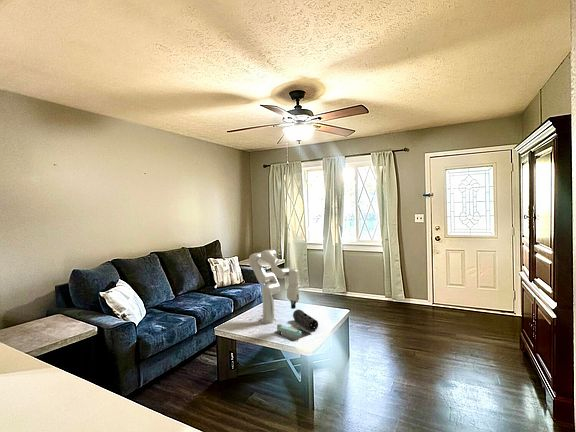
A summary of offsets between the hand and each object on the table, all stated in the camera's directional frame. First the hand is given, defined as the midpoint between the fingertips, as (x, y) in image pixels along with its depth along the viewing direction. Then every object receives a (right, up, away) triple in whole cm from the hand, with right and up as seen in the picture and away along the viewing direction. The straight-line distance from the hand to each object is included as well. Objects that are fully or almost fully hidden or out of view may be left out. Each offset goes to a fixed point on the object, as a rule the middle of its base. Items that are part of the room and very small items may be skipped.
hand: (293, 308), depth 245 cm
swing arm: (-3, -16, -13) cm, 20 cm away
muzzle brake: (+9, -17, +8) cm, 21 cm away
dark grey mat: (-1, -17, -8) cm, 19 cm away
